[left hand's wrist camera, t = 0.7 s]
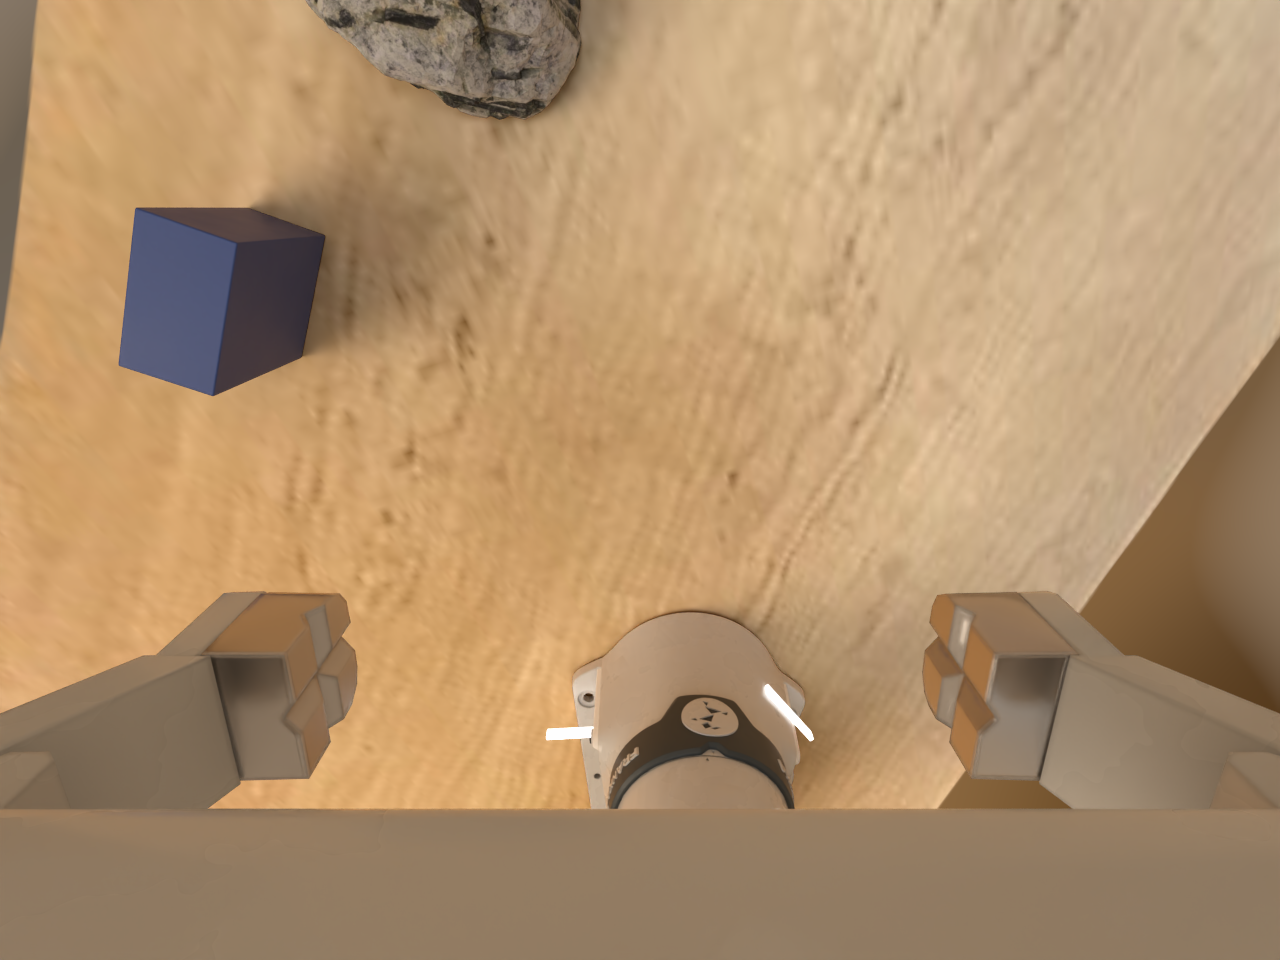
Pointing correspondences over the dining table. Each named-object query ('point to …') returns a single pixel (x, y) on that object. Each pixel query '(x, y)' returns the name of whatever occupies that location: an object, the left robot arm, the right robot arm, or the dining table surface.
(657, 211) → the dining table surface
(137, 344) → the brick
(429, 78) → the rock
